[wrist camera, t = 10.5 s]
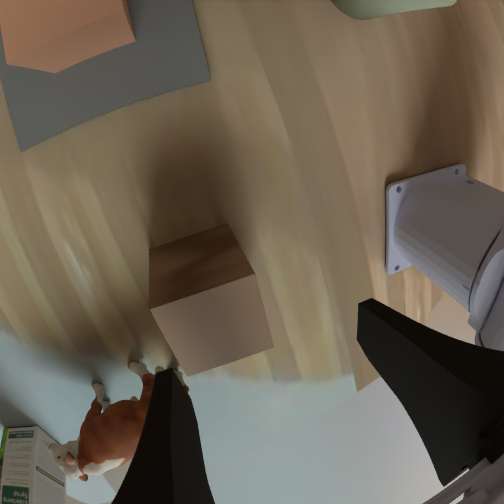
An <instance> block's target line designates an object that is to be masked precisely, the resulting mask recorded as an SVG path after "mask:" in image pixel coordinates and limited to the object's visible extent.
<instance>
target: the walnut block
mask: <svg viewBox="0 0 504 504" xmlns="http://www.w3.org/2000/svg"><path fill="white" fill-rule="evenodd" d="M149 303H150V311H151V313H152V315H153V317H154V319H155V321H156V322H157V324H158V326H159V328H160V330H161V332H162V333H163V335H164V337H165V339H166V341H167V343H168V344H169V346H170V348H171V350H172V351H173V353H174V355H175V357H176V358H177V360H178V362H179V363H180V365H181V367H182V369H183V370H184V372H185V374H186V375H187V376H190V375H193V374H197V373H200V372H203V371H206V370H209V369H212V368H215V367H218V366H221V365H224V364H227V363H230V362H233V361H236V360H239V359H242V358H245V357H248V356H250V355H253V354H256V353H259V352H262V351H264V350H267V349H270V348H272V347H274V345H273V341H272V337H271V333H270V330H269V326H268V322H267V318H266V314H265V310H264V306H263V302H262V298H261V294H260V290H259V287H258V283H257V279H256V275H255V272H254V271H253V269H252V267H251V265H250V264H249V262H248V260H247V258H246V256H245V255H244V253H243V251H242V249H241V247H240V246H239V244H238V242H237V240H236V238H235V237H234V235H233V233H232V231H231V229H230V228H229V226H228V224H224V225H221V226H218V227H215V228H212V229H209V230H206V231H203V232H200V233H197V234H194V235H191V236H188V237H185V238H183V239H180V240H177V241H174V242H171V243H168V244H165V245H162V246H159V247H156V248H154V249H151V250H149Z"/></svg>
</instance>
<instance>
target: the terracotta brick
mask: <svg viewBox="0 0 504 504" xmlns="http://www.w3.org/2000/svg"><path fill="white" fill-rule="evenodd" d="M0 25H1V33H2V40H3V46H4V52H5V57H6V63H7V65H14V66H20V67H25V68H31V69H36V70H41V71H46V72H51V73H57V72H59V71H61V70H63V69H66V68H68V67H70V66H72V65H74V64H77V63H79V62H81V61H84V60H86V59H88V58H91V57H93V56H96V55H98V54H101V53H104V52H106V51H109V50H112V49H114V48H117V47H120V46H123V45H126V44H129V43H132V42H135V41H136V40H135V36H134V32H133V28H132V24H131V19H130V15H129V11H128V6H127V2H126V0H0Z"/></svg>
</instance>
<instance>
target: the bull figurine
mask: <svg viewBox="0 0 504 504" xmlns="http://www.w3.org/2000/svg"><path fill="white" fill-rule="evenodd" d="M128 367H129V369H130V370H131V371H133V372H134V373H136V374H138V375H139V376H140V378H141V380H142V382H143V390H142V394H141V398H140V400H138V399H137V398H136V397H135V396H133V397H132V398H131V400H121V401H118V402H116V403H114V404H111V403H110V402H107V401H102V399H103V396H104V394H105V393H106V389H105V388H104V386H103V385H102V384H101V385H100V384H99V383H96V382H95V383H93V384H92V387H93V388H94V390H95V393H96V398H95V399H94V401H93V402H92V404H91V409H90V410H89V411H88V413H87V415H86V418H85V421H84V422H83V424H82V426H81V429H80V435H79V437H78V439H77V440H75V441H69V442H67V443H66V444H64V445H62V446H59V445H57V444H56V443H50V444H49V447H48V451H49V452H50V454H51V455H52V456H53V458H54V460H55V461H56V464H57V465H58V466H59V467H60V468H61V470H62V471H63V472H65V473H66V475H67V476H68V477H69V478H70V479H74V480H75V479H77V478H80V479H81V480H83V481H87V480H88V476H87V474H88V475H93V476H95V475H100V474H102V473H104V472H105V471H107V470H109V469H112V468H115V467H119V466H121V465H123V464H124V463H126V462H127V461H129V460H131V459H133V456H134V454H135V451H136V448H137V445H138V442H139V438H140V435H141V432H142V429H143V425H144V422H145V418H146V414H147V410H148V406H149V402H150V398H151V393H152V388H153V384H154V378H155V375H153V374H151V373H150V372H149V371H148V370H147V368H146V365H145V364H144V363H143V362H142V361H141V362H140V363H139V364H138V363H137V362H136V361H131V362H130V363H129V364H128ZM163 370H164V368H163V367H160V366H157V367H156V368H155V374H156V373H157V372H159V371H163ZM173 370H174V369H173ZM174 371H175V373H176V375H177V377H178V378H179V380H180V382H181V383H182V385H183V387H184V388H185V390H186V392H187V393H188V391H189V388H188V387H187V386H186V384H185V383H184V381H183V378H182V376H183V374H182V373H181V372H180V371H176V370H174ZM102 408H103V413H101V410H102Z"/></svg>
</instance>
